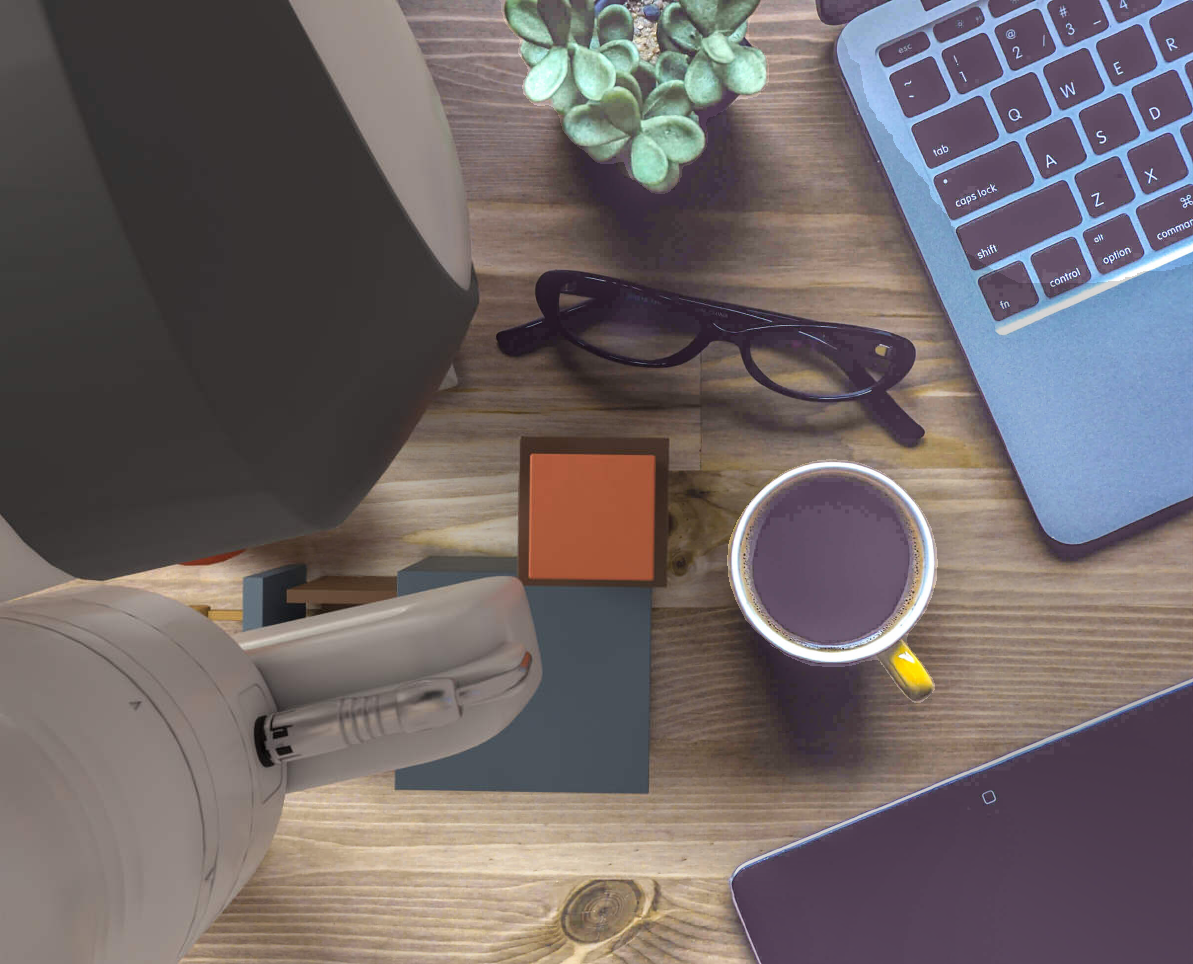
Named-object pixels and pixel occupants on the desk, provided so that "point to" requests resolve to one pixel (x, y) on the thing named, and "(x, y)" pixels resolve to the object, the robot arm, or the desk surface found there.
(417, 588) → the cabinet
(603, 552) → the block
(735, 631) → the desk surface
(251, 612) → the drawer
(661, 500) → the stand
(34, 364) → the robot arm
